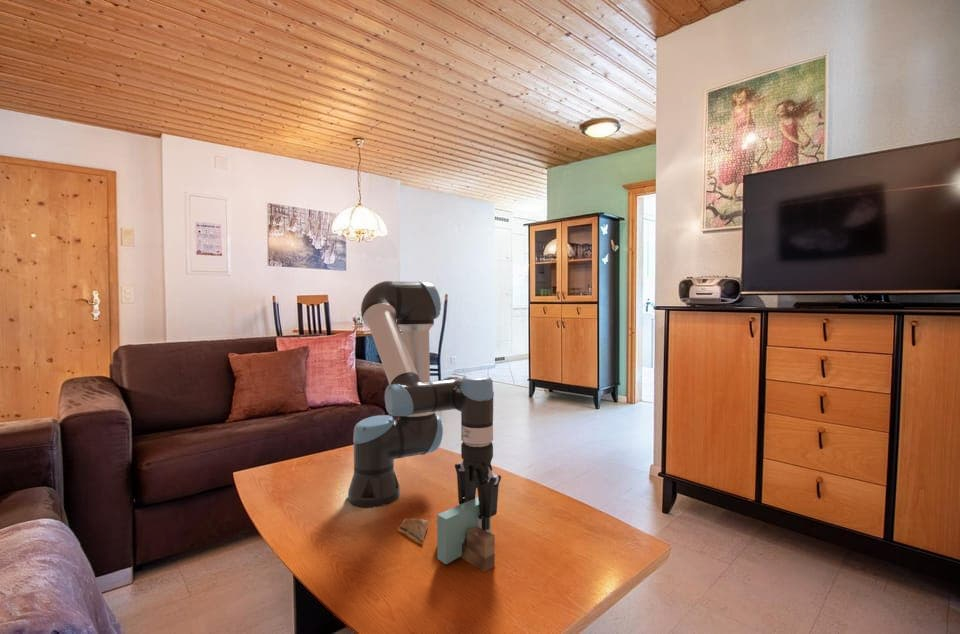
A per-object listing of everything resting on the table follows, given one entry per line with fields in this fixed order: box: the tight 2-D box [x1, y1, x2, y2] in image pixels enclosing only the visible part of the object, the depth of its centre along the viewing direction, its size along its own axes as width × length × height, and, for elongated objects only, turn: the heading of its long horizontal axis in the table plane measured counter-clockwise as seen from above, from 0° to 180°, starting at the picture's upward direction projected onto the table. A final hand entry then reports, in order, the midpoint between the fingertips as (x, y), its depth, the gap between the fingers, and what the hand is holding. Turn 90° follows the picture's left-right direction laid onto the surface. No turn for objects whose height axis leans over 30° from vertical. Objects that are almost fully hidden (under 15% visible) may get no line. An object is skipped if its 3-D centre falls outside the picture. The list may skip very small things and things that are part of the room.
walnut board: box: [459, 526, 496, 573], centre depth 104 cm, size 16×3×7 cm, turn 45°
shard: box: [397, 518, 429, 546], centre depth 114 cm, size 11×8×2 cm
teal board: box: [436, 496, 492, 565], centre depth 104 cm, size 14×3×10 cm, turn 135°
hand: (477, 539), depth 107 cm, fingers closed on teal board, 3 cm apart
